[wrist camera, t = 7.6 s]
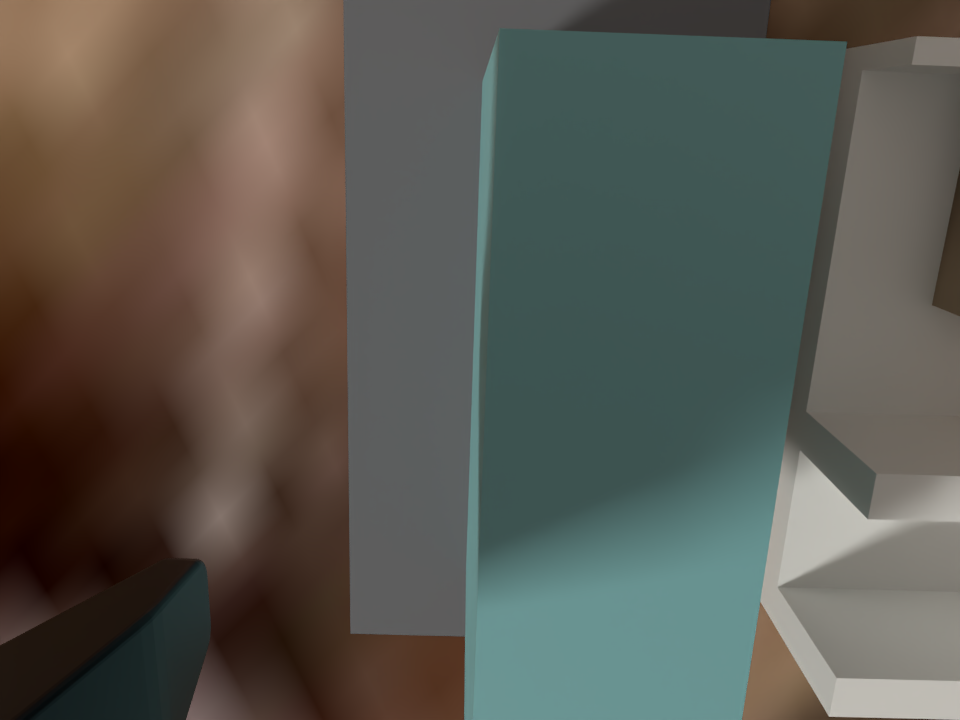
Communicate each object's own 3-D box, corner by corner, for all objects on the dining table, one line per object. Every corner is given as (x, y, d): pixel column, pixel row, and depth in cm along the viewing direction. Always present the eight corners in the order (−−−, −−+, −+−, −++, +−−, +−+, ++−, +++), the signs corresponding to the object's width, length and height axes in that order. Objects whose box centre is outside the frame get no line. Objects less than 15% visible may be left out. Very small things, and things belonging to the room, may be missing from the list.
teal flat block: (620, 86, 17) (847, 42, 7) (581, 573, 21) (692, 1035, 10) (482, 81, 17) (499, 28, 7) (466, 570, 21) (461, 1032, 10)
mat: (681, 628, 22) (687, 642, 22) (353, 619, 22) (350, 633, 21) (762, -4, 18) (771, -8, 17) (347, -22, 17) (343, -26, 17)
